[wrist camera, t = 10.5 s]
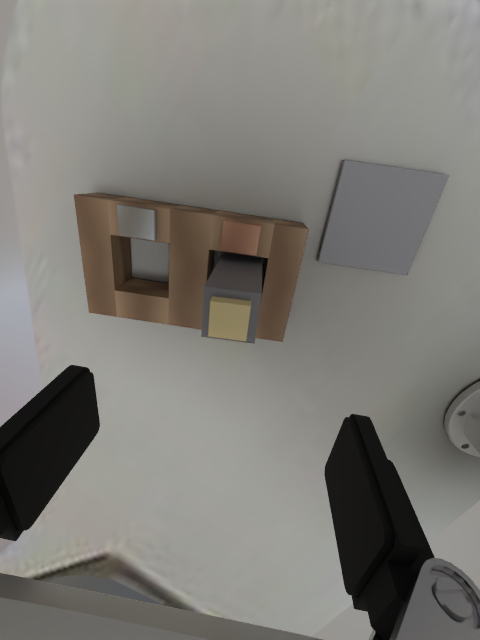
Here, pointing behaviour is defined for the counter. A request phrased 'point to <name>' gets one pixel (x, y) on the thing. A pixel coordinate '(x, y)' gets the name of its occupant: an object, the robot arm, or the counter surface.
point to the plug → (233, 298)
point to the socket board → (182, 259)
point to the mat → (379, 216)
